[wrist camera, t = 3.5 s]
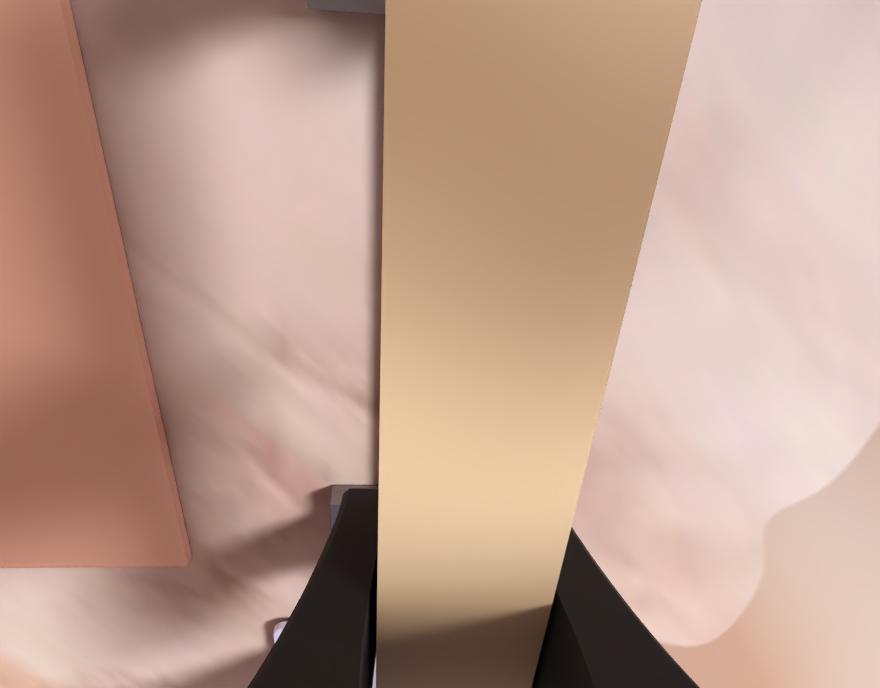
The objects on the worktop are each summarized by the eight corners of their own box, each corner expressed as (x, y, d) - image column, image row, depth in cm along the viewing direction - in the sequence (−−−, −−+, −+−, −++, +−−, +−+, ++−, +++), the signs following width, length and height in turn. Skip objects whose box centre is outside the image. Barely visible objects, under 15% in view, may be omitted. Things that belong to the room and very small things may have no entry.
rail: (459, 829, 17) (467, 944, 15) (375, 833, 17) (372, 950, 15) (690, -469, 5) (896, -788, 3) (398, -511, 5) (397, -885, 3)
